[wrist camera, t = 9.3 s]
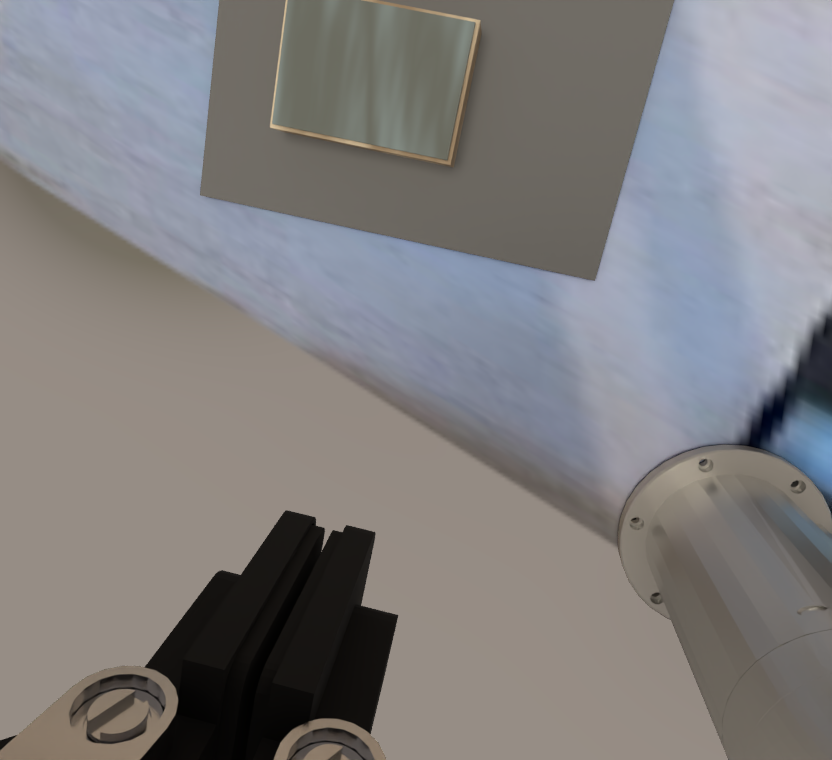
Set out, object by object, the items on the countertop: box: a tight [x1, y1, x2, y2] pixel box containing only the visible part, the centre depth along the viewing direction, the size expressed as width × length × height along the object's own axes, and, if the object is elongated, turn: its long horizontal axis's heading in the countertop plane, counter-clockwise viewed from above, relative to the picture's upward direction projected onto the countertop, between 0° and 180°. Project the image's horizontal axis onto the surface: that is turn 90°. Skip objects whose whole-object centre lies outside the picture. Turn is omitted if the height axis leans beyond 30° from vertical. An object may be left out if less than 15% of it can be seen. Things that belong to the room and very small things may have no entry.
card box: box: [270, 0, 482, 167], centre depth 34 cm, size 3×7×10 cm
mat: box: [200, 0, 674, 281], centre depth 36 cm, size 24×16×1 cm, turn 78°
